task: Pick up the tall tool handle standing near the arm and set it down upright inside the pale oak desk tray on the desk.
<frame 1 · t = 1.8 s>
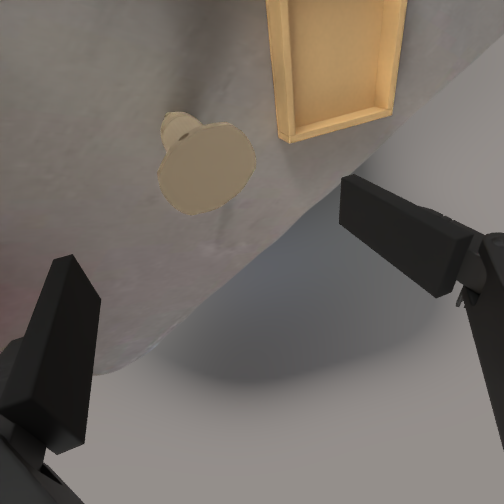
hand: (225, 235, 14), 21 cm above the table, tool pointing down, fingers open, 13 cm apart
tray: (329, 41, 30), on the table
handle: (176, 126, 30), on the table
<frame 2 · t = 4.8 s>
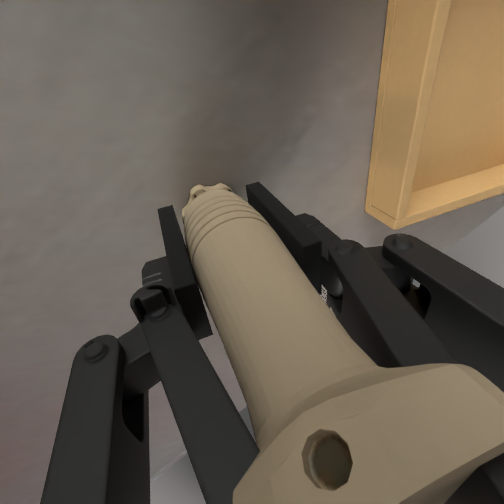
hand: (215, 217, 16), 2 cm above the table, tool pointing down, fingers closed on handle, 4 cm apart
tray: (470, 64, 18), on the table
handle: (208, 204, 17), on the table, touching gripper
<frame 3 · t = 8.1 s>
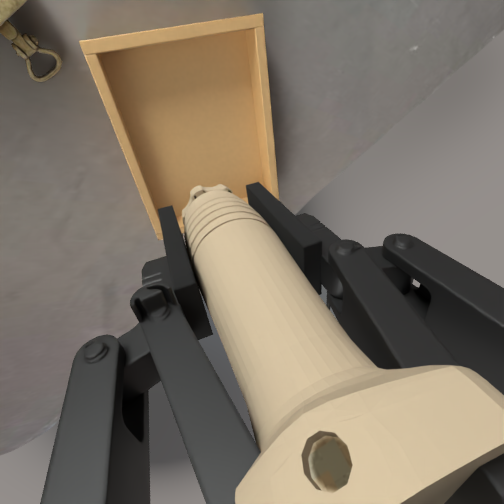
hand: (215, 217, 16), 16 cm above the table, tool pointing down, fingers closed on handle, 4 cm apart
tray: (197, 135, 28), on the table
handle: (208, 205, 17), point 14 cm above the table, touching gripper
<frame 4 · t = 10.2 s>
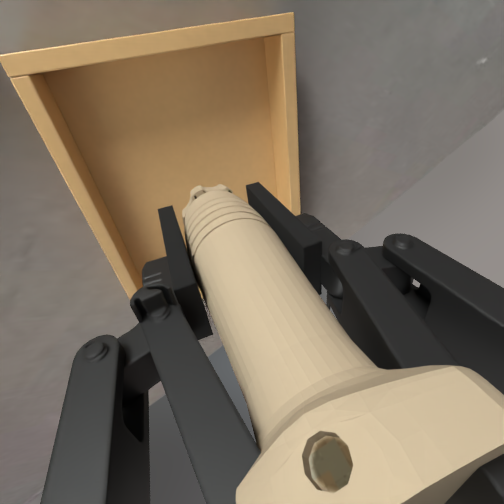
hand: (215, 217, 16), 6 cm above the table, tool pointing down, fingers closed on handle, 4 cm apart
tray: (193, 180, 20), on the table
handle: (208, 205, 17), point 4 cm above the table, touching gripper
when the fingers open (3 cm above the table, at t = 12.1 s): handle stays where it is, resting on tray.
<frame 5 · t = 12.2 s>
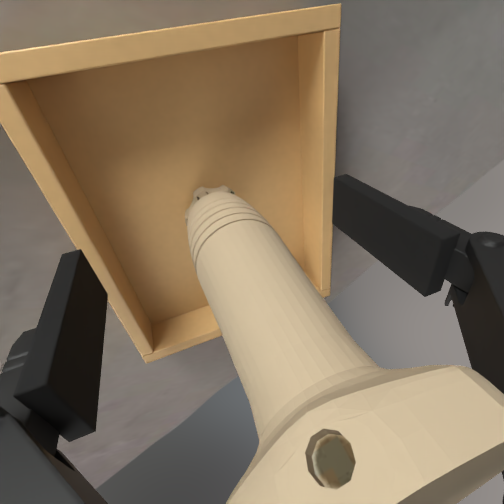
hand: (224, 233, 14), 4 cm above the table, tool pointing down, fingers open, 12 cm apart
tray: (208, 202, 18), on the table
handle: (210, 206, 17), resting on tray
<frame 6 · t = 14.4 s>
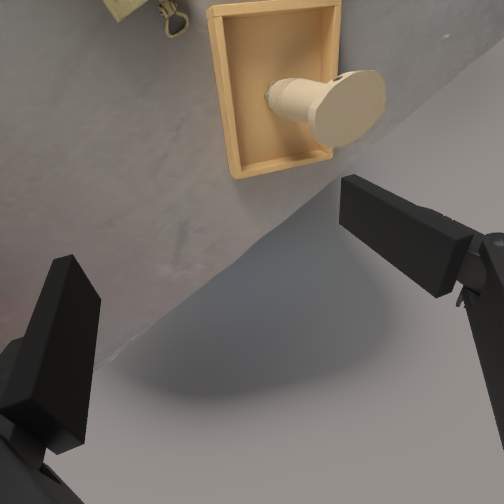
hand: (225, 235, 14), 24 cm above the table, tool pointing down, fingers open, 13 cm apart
tray: (273, 94, 35), on the table
handle: (275, 95, 34), resting on tray
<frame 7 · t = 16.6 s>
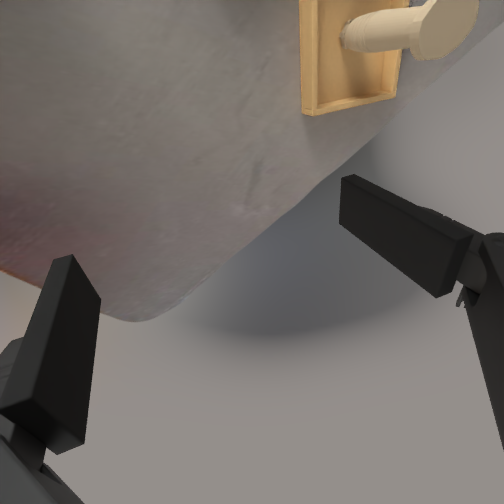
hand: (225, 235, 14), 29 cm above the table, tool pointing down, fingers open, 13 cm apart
tray: (345, 35, 38), on the table
handle: (347, 35, 38), resting on tray
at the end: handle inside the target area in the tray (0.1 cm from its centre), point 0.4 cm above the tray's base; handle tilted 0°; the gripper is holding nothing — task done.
